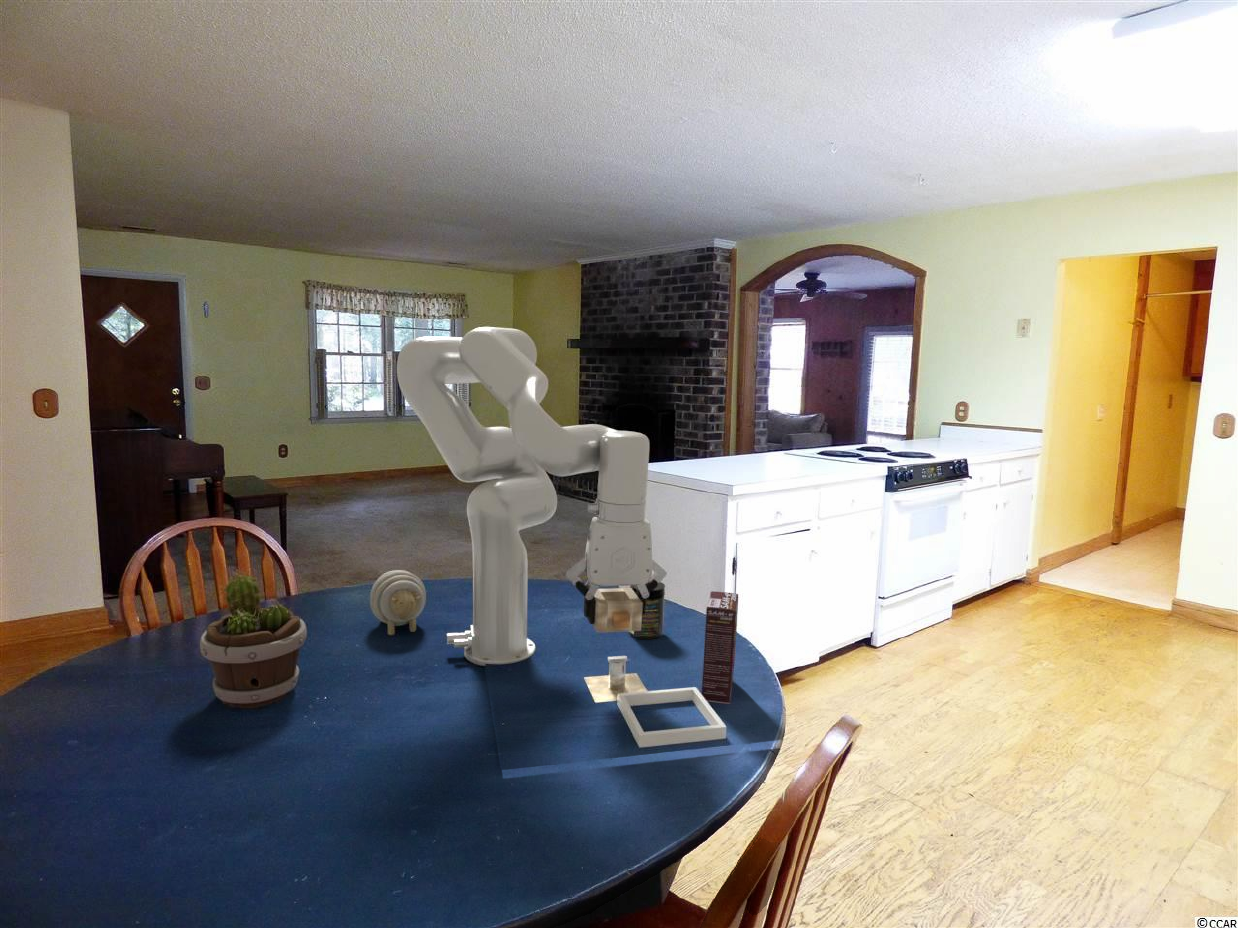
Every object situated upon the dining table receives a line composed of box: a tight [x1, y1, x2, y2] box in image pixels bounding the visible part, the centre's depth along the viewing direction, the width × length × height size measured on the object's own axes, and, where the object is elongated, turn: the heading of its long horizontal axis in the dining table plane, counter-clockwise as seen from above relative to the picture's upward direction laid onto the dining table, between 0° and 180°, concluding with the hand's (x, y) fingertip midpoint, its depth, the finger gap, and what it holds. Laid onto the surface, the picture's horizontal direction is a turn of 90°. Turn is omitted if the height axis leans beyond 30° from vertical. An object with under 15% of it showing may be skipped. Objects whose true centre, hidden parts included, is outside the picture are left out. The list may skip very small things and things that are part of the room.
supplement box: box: [700, 590, 739, 705], centre depth 117 cm, size 9×5×16 cm, turn 168°
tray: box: [616, 686, 727, 749], centre depth 108 cm, size 13×13×2 cm
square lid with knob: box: [583, 655, 648, 704], centre depth 118 cm, size 9×9×6 cm
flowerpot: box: [199, 565, 308, 709], centre depth 112 cm, size 14×15×20 cm
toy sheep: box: [369, 569, 427, 636], centre depth 143 cm, size 11×17×11 cm, turn 32°
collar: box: [592, 587, 643, 634], centre depth 116 cm, size 7×8×4 cm
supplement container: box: [628, 581, 666, 641], centre depth 141 cm, size 7×7×10 cm
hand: (614, 619), depth 117 cm, fingers closed on collar, 7 cm apart
